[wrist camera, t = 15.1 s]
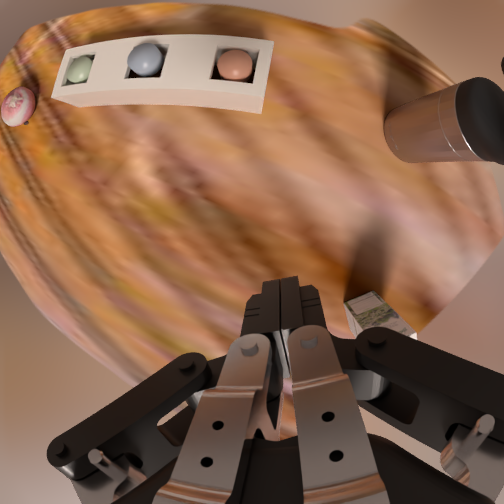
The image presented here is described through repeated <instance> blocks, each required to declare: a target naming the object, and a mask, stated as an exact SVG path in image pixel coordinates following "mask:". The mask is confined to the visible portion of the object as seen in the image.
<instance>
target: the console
mask: <svg viewBox="0 0 504 504" xmlns="http://www.w3.org/2000/svg"><path fill="white" fill-rule="evenodd" d="M143 43H152V44H154V45H155V46H156V47H157V48H158V50H159V51H160V52H161V54H162V55H163V57H164V63H163V64H164V65H163V69H162V73H161V77H160V78H130V79H128V76H129V73H130V69H131V68H130V67H129V66H128V64H127V59H128V56H129V54H130V52H131V51H132V50H133V49H134V48H135V47H137V46H138V45H140V44H143ZM273 46H274V41H269V40H262V39H254V38H246V37H236V36H223V35H201V34H177V35H155V36H142V37H132V38H124V39H117V40H110V41H104V42H99V43H94V44H89V45H84V46H80V47H75V48H71V49H67V50H66V52H65V54H64V57H63V60H62V63H61V66H60V69H59V72H58V75H57V79H56V82H55V85H54V89H53V93H52V97H51V98H54V99H57V100H60V101H63V102H66V103H68V104H71V105H74V106H77V107H88V106H102V105H124V104H162V105H185V106H200V107H211V108H221V109H230V110H238V111H245V112H252V113H259V114H261V113H262V107H263V101H264V96H265V90H266V84H267V79H268V73H269V68H270V62H271V57H272V51H273ZM230 50H241V51H244V52H246V53H247V54H248V55H249V56H250V57H251V59H252V69H256V70H255V75H254V80H253V84H251V83H243V82H235V81H225V80H214V79H211V77H212V73H213V68H214V65H217V63H218V60H219V58H220V56H221V55H222V54H224V53H225V52H227V51H230ZM82 56H85V57H87V58H89V59H90V60H92V61H93V64H92V67H91V70H90V73H89V77H88V80H87V83H81V84H76V83H73V82H71V81H69V80H68V78H67V71H68V68H69V67H70V65H71V64H72V62H73V61H74V60H76V59H77V58H79V57H82Z"/></svg>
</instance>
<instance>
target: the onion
mask: <svg viewBox="0 0 504 504" xmlns="http://www.w3.org/2000/svg"><path fill="white" fill-rule="evenodd" d="M34 109H35V97H34V94H33V92H32V91H31V90H29V89H27V88H25V87H18V88H15V89H14V90H12V91H11V92H10V93H9V94H8V95H7V96H6V97H5V99H4V101H3V104H2V108H1V114H2V119H3V121H4V122H5V123H6V124H7V125H9V126H19V125H21V124H23V123H24V122H25V123H24V125H27V124H28V121H27V120H28V119H29V118H30V117H31V116H32V114H33V112H34Z"/></svg>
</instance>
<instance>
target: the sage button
mask: <svg viewBox="0 0 504 504" xmlns="http://www.w3.org/2000/svg"><path fill="white" fill-rule="evenodd" d="M92 64H93V61H92V60H90V59H89V58H87V57H85V56H82V57H79V58H77V59H76V60H74V61H73V62H72V64H71V65H70V67H69V68H68V71H67V78H68V80H69V81H71V82H73V83H76V84H81V83H87V80H88V77H89V73H90V70H91V67H92Z"/></svg>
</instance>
